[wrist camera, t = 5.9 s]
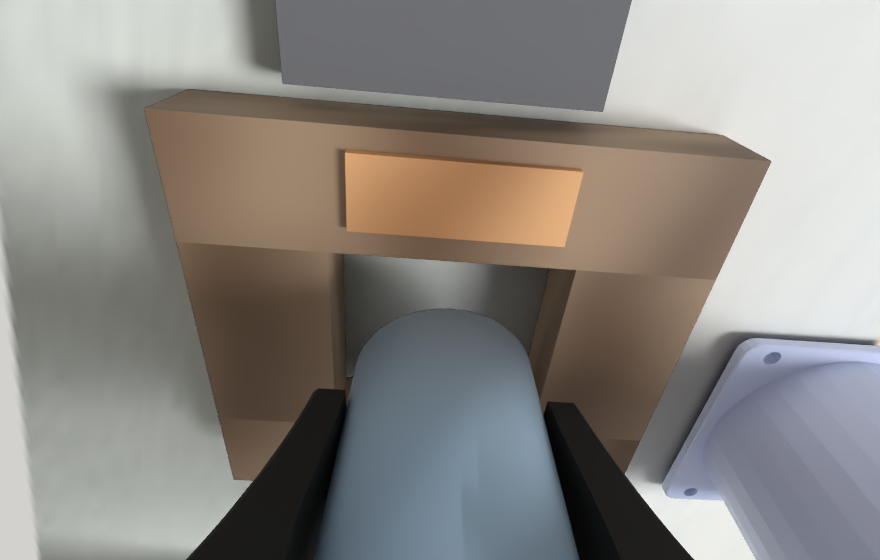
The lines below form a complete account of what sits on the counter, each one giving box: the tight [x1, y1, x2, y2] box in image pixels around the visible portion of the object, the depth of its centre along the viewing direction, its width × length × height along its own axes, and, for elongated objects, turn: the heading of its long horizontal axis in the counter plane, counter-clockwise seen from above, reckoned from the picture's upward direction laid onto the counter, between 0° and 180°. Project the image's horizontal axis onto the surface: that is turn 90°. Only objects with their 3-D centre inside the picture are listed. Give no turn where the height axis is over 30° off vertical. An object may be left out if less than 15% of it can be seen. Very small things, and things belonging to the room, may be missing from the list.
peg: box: [313, 309, 580, 560], centre depth 9 cm, size 4×4×6 cm
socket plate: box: [144, 89, 771, 481], centre depth 14 cm, size 13×12×2 cm
